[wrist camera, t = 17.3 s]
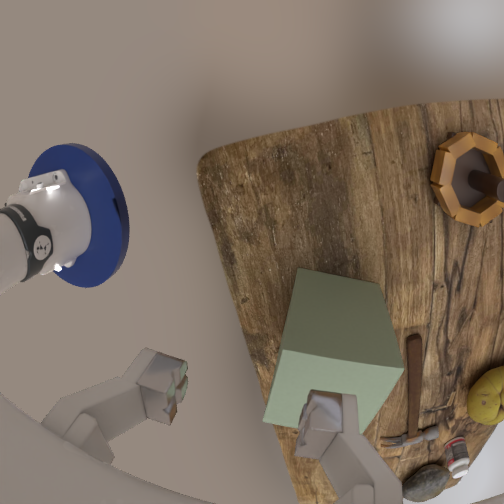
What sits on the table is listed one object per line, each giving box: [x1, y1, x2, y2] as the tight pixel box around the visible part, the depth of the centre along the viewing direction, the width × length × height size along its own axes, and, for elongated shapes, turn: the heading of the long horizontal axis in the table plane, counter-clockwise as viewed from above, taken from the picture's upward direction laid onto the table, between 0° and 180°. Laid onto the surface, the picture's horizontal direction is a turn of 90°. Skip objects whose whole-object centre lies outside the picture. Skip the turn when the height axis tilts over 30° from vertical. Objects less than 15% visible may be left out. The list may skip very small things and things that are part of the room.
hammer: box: [380, 334, 439, 448], centre depth 41 cm, size 12×3×30 cm
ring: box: [430, 132, 504, 228], centre depth 26 cm, size 10×10×3 cm
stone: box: [402, 464, 450, 502], centre depth 48 cm, size 17×13×10 cm
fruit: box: [467, 366, 504, 425], centre depth 33 cm, size 11×12×10 cm
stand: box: [434, 132, 504, 223], centre depth 25 cm, size 9×9×8 cm
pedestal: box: [263, 268, 404, 434], centre depth 32 cm, size 11×11×16 cm
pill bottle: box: [444, 437, 469, 478], centre depth 41 cm, size 5×5×10 cm
